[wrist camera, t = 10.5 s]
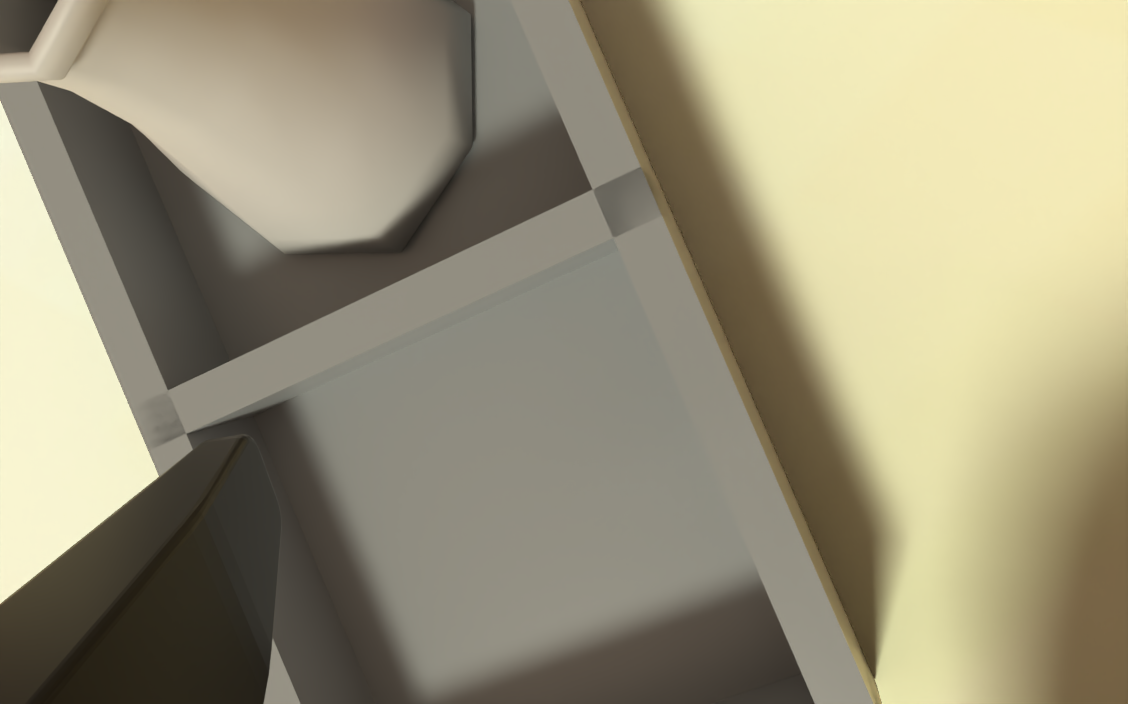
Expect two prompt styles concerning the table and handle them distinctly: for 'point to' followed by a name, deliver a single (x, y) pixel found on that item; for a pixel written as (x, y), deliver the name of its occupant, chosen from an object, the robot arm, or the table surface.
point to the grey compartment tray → (469, 408)
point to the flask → (274, 102)
